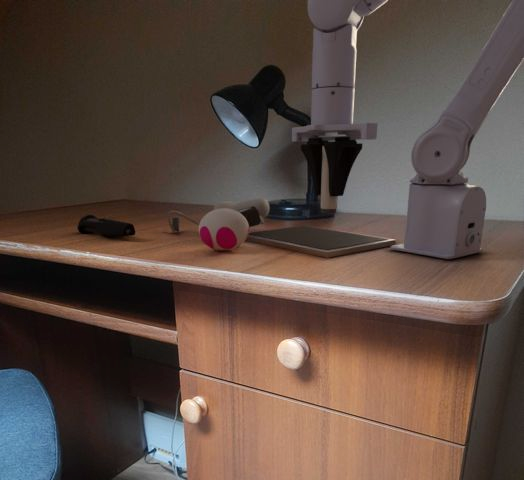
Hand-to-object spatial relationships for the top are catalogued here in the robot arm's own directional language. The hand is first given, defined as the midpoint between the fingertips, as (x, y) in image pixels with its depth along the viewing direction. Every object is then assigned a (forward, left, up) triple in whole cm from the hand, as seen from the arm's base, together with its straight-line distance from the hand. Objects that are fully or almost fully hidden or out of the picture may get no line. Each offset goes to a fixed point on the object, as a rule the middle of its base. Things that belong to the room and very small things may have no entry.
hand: (329, 195), depth 71 cm
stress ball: (+6, +14, -7) cm, 17 cm away
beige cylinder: (0, 0, -2) cm, 2 cm away
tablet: (+3, 0, -7) cm, 8 cm away
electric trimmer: (+31, +22, -7) cm, 39 cm away
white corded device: (+20, +7, -7) cm, 22 cm away
